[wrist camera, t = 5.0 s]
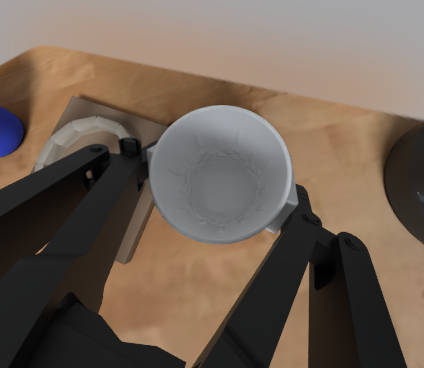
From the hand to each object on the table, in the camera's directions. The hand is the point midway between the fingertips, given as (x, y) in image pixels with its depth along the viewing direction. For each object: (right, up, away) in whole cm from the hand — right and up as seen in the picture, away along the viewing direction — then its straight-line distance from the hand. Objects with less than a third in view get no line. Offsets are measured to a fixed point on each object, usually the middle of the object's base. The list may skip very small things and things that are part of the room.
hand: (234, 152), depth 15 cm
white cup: (-1, -4, +4) cm, 6 cm away
